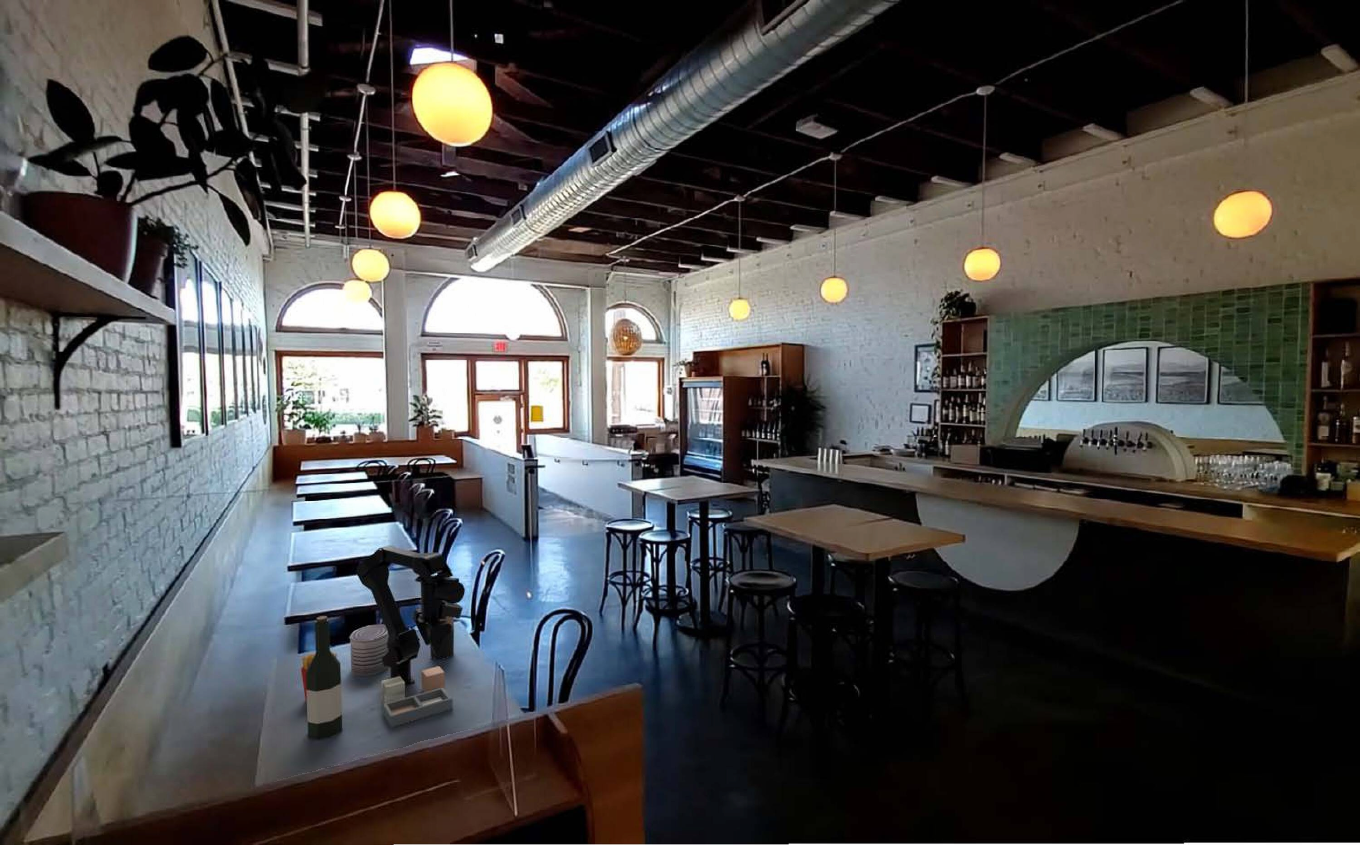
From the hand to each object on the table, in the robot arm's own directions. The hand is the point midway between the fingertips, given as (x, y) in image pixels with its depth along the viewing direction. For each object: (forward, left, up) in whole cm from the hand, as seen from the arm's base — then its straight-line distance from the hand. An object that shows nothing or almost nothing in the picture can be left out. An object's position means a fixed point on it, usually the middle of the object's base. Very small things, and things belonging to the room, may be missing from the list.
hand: (432, 650), depth 189 cm
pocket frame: (+10, -7, -12) cm, 17 cm away
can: (-28, -11, -13) cm, 33 cm away
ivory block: (0, -11, -12) cm, 17 cm away
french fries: (-15, -27, -13) cm, 33 cm away
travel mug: (-24, +10, -13) cm, 29 cm away
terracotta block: (0, 0, -12) cm, 12 cm away
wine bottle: (+6, -29, -13) cm, 32 cm away
